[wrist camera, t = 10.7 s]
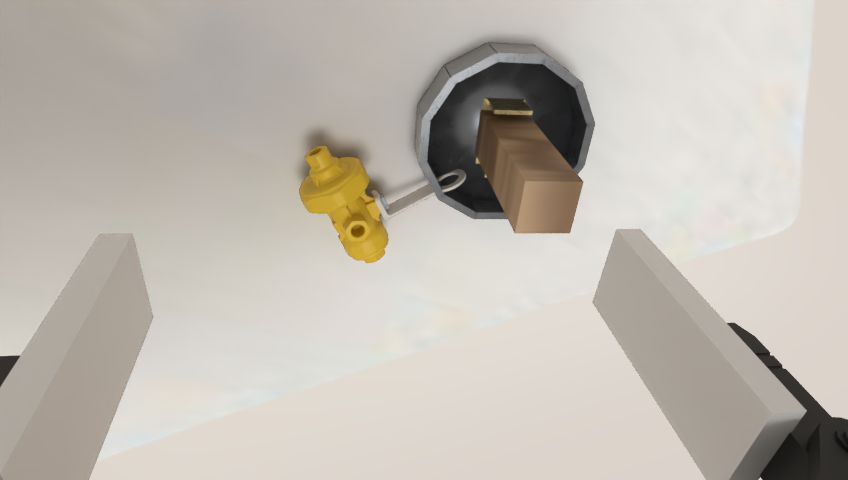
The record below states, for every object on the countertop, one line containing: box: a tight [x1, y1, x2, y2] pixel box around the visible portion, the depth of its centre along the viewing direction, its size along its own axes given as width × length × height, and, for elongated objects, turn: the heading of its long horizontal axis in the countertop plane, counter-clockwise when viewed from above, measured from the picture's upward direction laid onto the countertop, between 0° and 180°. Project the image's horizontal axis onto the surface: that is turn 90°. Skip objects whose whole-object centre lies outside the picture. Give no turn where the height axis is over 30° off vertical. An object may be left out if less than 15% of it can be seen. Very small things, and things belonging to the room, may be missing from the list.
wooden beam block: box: [475, 110, 583, 233], centre depth 37 cm, size 4×4×12 cm
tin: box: [415, 43, 595, 219], centre depth 41 cm, size 13×13×3 cm
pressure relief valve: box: [299, 146, 466, 263], centre depth 41 cm, size 6×12×10 cm
